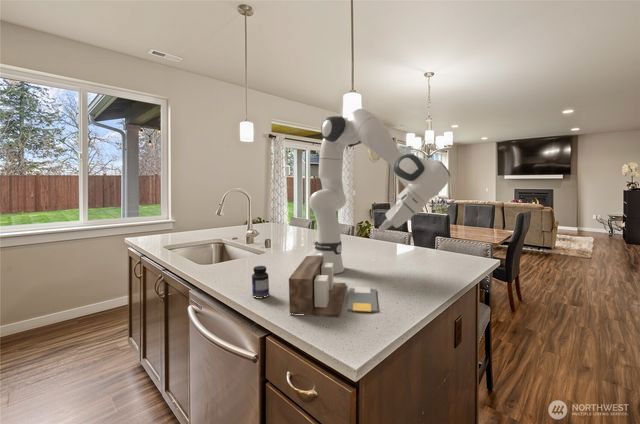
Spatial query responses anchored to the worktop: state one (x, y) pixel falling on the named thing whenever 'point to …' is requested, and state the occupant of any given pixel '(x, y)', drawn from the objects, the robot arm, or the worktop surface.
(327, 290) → the outer key
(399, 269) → the worktop surface
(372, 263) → the worktop surface
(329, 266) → the inner key
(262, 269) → the pill bottle
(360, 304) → the card
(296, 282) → the key panel
